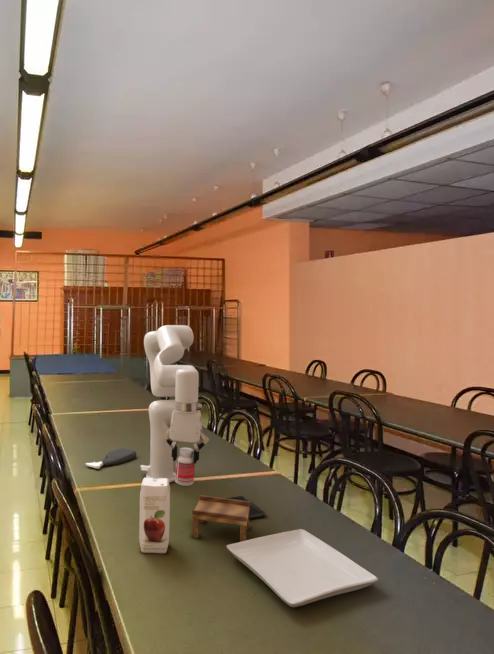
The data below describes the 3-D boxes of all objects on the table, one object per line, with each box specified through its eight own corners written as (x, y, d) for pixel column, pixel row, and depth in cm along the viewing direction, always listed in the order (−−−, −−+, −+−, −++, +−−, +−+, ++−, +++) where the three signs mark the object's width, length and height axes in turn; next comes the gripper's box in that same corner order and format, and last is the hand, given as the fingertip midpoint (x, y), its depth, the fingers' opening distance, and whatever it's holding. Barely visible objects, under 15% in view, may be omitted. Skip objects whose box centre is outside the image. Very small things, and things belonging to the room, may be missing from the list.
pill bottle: (197, 484, 148) (199, 451, 147) (182, 487, 144) (184, 454, 143) (185, 477, 153) (188, 445, 152) (171, 480, 149) (173, 447, 149)
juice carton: (140, 540, 132) (141, 476, 132) (169, 541, 132) (170, 476, 132) (138, 554, 124) (139, 485, 124) (169, 555, 124) (170, 486, 124)
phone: (245, 516, 146) (223, 498, 160) (245, 519, 146) (223, 501, 160) (266, 513, 149) (243, 495, 163) (266, 516, 149) (243, 498, 163)
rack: (191, 537, 134) (192, 510, 134) (199, 520, 146) (200, 494, 146) (246, 546, 130) (246, 517, 130) (249, 527, 141) (250, 501, 141)
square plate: (291, 620, 98) (291, 603, 98) (224, 557, 123) (224, 543, 123) (380, 592, 109) (380, 576, 109) (302, 539, 134) (302, 526, 134)
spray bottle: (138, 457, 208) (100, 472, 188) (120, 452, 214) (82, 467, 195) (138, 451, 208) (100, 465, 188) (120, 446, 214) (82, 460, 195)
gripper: (214, 406, 148) (213, 460, 149) (164, 402, 153) (162, 454, 153) (210, 411, 141) (209, 468, 141) (157, 406, 146) (156, 461, 146)
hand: (185, 460), depth 147 cm, fingers closed on pill bottle, 6 cm apart
